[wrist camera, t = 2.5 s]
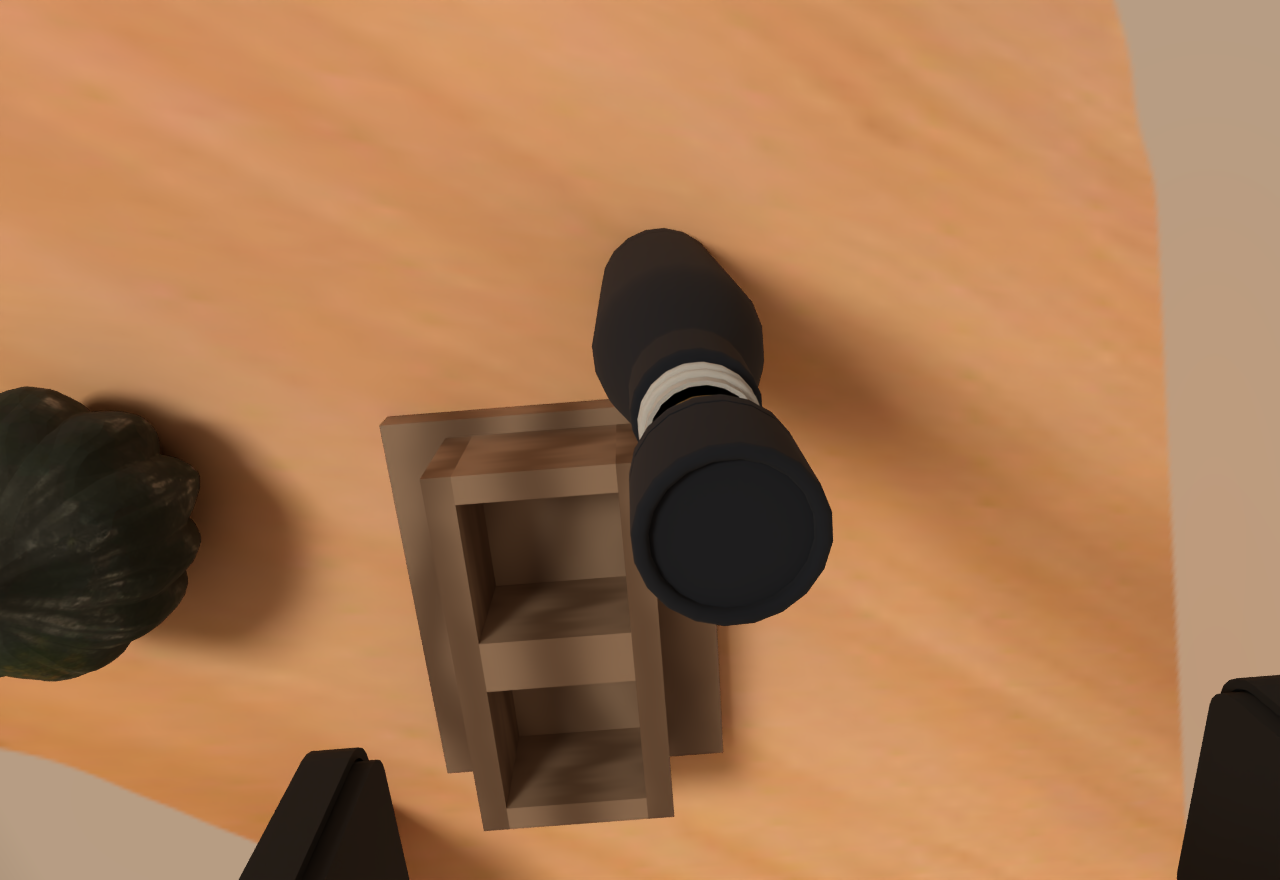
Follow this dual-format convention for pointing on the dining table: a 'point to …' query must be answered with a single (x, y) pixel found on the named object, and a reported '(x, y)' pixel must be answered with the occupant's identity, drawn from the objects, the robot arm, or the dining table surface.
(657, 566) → the wine bottle
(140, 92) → the dining table surface
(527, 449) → the bottle rack
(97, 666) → the squash
